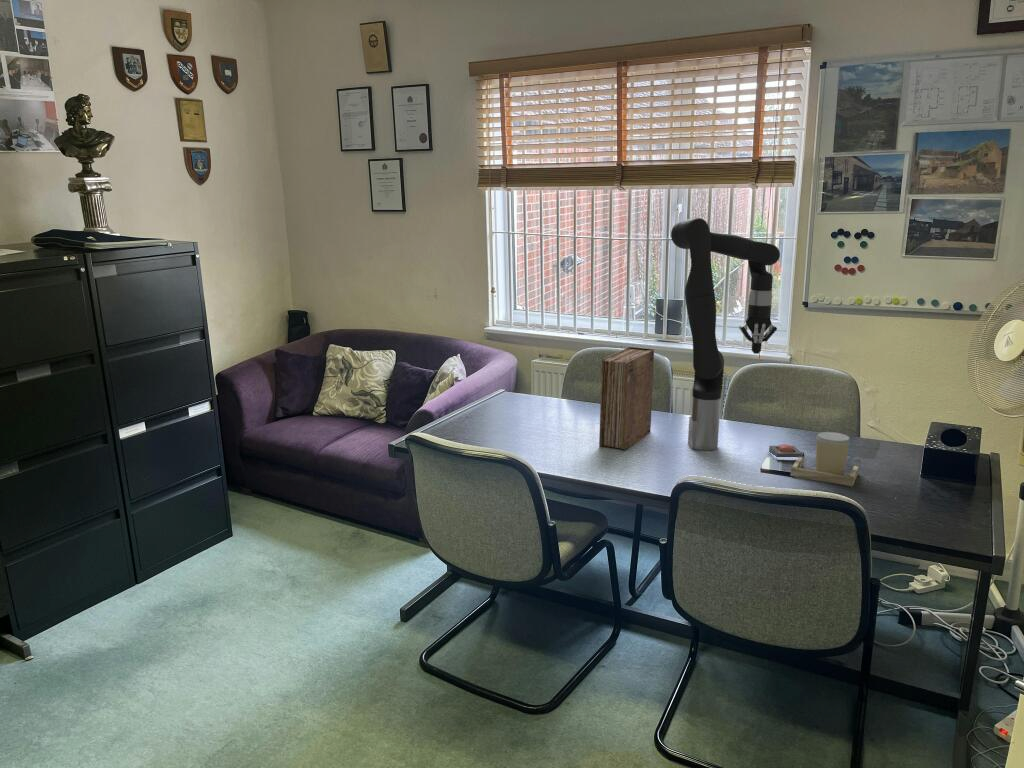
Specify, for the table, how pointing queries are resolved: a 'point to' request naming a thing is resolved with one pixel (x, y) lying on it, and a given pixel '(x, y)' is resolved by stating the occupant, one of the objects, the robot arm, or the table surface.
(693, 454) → the table surface
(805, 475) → the holder
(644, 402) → the brown plywood block
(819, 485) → the table surface
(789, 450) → the button
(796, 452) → the button box
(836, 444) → the coffee cup
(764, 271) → the robot arm
